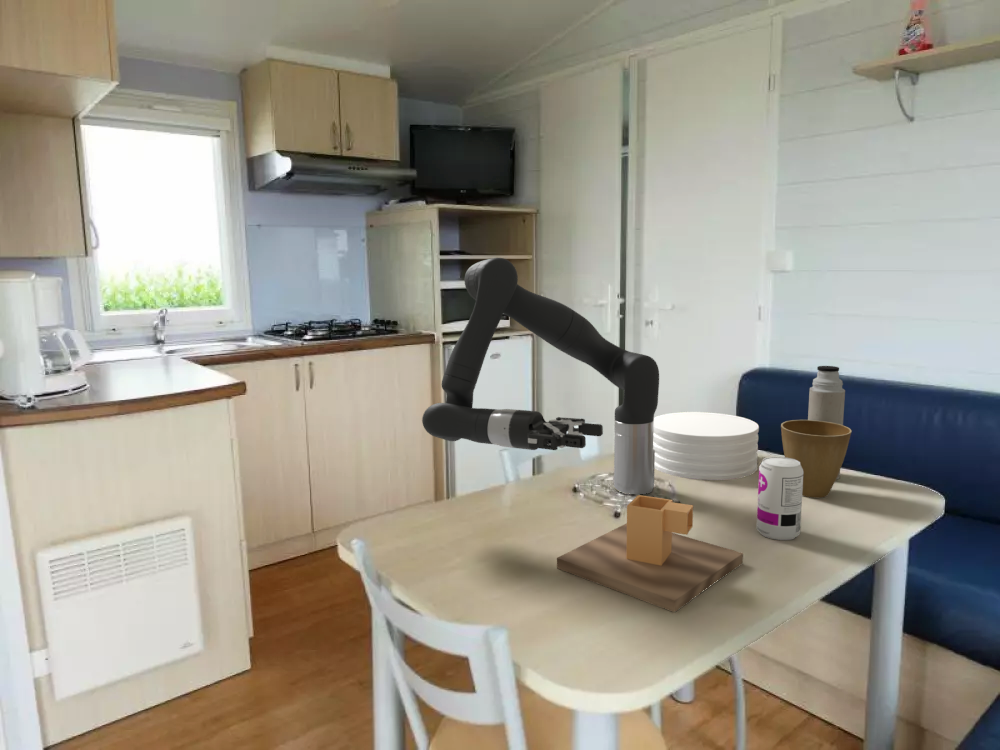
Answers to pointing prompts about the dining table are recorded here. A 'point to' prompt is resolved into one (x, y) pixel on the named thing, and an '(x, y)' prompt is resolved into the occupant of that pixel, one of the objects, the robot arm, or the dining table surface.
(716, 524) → the dining table surface
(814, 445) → the plant pot
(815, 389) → the thermos bottle
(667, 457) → the plate stack
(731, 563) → the mount board
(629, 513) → the open-top tan box
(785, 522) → the supplement can
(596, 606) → the dining table surface
